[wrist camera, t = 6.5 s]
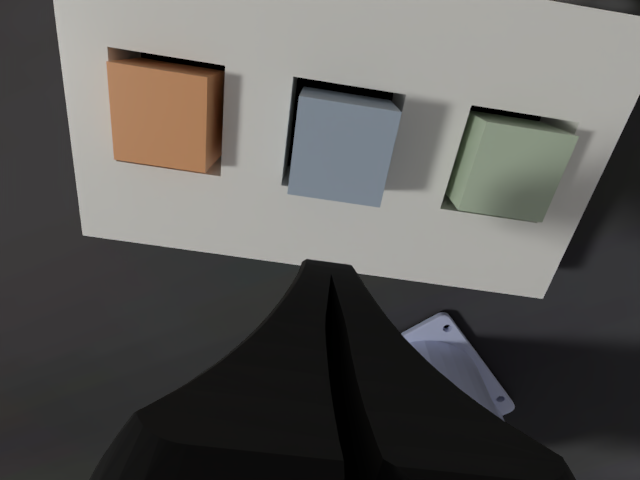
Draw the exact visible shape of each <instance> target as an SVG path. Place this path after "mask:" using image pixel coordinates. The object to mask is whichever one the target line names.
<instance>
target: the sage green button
mask: <svg viewBox="0 0 640 480" xmlns="http://www.w3.org/2000/svg"><path fill="white" fill-rule="evenodd" d="M578 138H579V136H577V135H574V134H572V133H569V132H567V131H564V130H562V129H559V128H557V127H554V126H552V125H549V124H547V123H544V122H541V121H534V120H528V119H522V118H516V117H509V116H503V115H497V114H491V113H484V112H478V111H472V110H470V112H469V115H468V118H467V122H466V125H465V128H464V132H463V135H462V138H461V141H460V145H459V148H458V151H457V155H456V158H455V161H454V165H453V168H452V171H451V175H450V178H449V181H448V184H447V188H446V191H445V193H446V195H447V196H448V197H449V199H450V200H451V201H452V203H453V204H454V205H455V207H456V208H457V209H458V210H460V211H467V212H474V213H480V214H487V215H494V216H501V217H507V218H514V219H521V220H528V221H535V222H541V223H542V222H543V219H544V217H545V215H546V213H547V210H548V208H549V206H550V203H551V201H552V199H553V196H554V194H555V192H556V189H557V187H558V185H559V182H560V180H561V178H562V175H563V173H564V171H565V168H566V166H567V164H568V161H569V159H570V157H571V154H572V152H573V150H574V147H575V145H576V143H577V140H578Z"/></svg>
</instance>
